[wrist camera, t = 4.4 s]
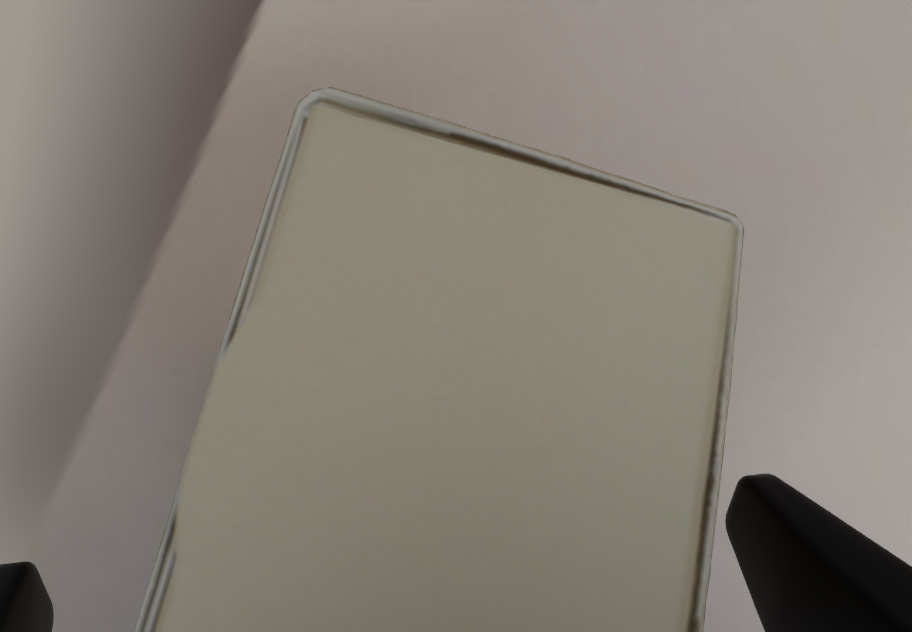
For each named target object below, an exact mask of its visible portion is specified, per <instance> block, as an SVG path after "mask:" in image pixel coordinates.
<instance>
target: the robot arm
mask: <svg viewBox="0 0 912 632" xmlns="http://www.w3.org/2000/svg"><path fill="white" fill-rule="evenodd" d="M725 522H726V530H727V533H728V536H729V539H730V542H731V544H732V547H733V549H734V552H735V555H736V557H737V560H738V563H739V565H740V568H741V570H742V573H743V576H744V578H745V581H746V584H747V586H748V589H749V591H750V594H751V597H752V599H753V602H754V605H755V607H756V610H757V613H758V615H759V618H760V620H761V623H762V625H763V628H764V630H765V632H912V567H911V566H910V565H908V564H907V563H905V562H904V561H902V560H901V559H899V558H898V557H896V556H895V555H893V554H892V553H890V552H889V551H887V550H886V549H884V548H883V547H881V546H880V545H878V544H877V543H875V542H874V541H872V540H871V539H869V538H868V537H866V536H865V535H863V534H862V533H860V532H859V531H857V530H856V529H854V528H853V527H851V526H850V525H848V524H847V523H845V522H844V521H842V520H841V519H839V518H838V517H836V516H835V515H833V514H832V513H830V512H829V511H827V510H826V509H824V508H823V507H821V506H820V505H818V504H817V503H815V502H814V501H812V500H811V499H809V498H808V497H806V496H805V495H803V494H802V493H800V492H799V491H797V490H796V489H794V488H793V487H791V486H790V485H788V484H787V483H785V482H784V481H782V480H781V479H779V478H778V477H776V476H774V475H771V474H758V475H749V476H744V477H742V478H741V479H740V480H739V482H738V484H737V486H736V489H735V492H734V494H733V497H732V500H731V503H730V505H729V508H728V511H727V514H726V521H725ZM52 627H53V606H52V602H51V600H50V597H49V595H48V593H47V591H46V588H45V586H44V584H43V582H42V579H41V577H40V575H39V572H38V570H37V568H36V567H35V565H34V564H32V563H31V562H18V563H10V564H1V565H0V632H52Z"/></svg>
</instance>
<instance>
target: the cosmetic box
mask: <svg viewBox="0 0 912 632" xmlns="http://www.w3.org/2000/svg"><path fill="white" fill-rule="evenodd" d="M743 237H744V228H743V224H742V221H741V220H740V219H739V218H738V217H737V216H736V215H734V214H732V213H730V212H728V211H725V210H722V209H718V208H715V207H712V206H708V205H705V204H702V203H698V202H695V201H692V200H688V199H685V198H681V197H678V196H675V195H672V194H669V193H666V192H664V191H661V190H659V189H656V188H653V187H650V186H647V185H644V184H641V183H639V182H636V181H633V180H630V179H626V178H623V177H620V176H616V175H613V174H610V173H607V172H604V171H601V170H598V169H595V168H592V167H589V166H587V165H584V164H580V163H577V162H574V161H572V160H569V159H567V158H564V157H561V156H557V155H553V154H549V153H546V152H543V151H541V150H538V149H534V148H530V147H526V146H523V145H519V144H516V143H513V142H510V141H507V140H504V139H500V138H497V137H494V136H491V135H488V134H485V133H482V132H479V131H476V130H473V129H469V128H466V127H463V126H460V125H457V124H454V123H451V122H448V121H445V120H441V119H438V118H434V117H431V116H427V115H424V114H420V113H417V112H414V111H410V110H407V109H403V108H400V107H397V106H393V105H390V104H387V103H384V102H380V101H377V100H374V99H370V98H367V97H364V96H360V95H357V94H354V93H350V92H347V91H343V90H339V89H336V88H332V87H328V88H322V89H317V90H313V91H312V92H311V93H309V94H308V95H307V96H306V97H304V98H303V99H302V100H300V101H299V103H298V105H297V107H296V108H295V110H294V114H293V117H292V121H291V125H290V128H289V131H288V134H287V138H286V141H285V144H284V147H283V150H282V153H281V156H280V159H279V162H278V165H277V168H276V171H275V175H274V178H273V181H272V184H271V187H270V190H269V193H268V196H267V199H266V202H265V205H264V208H263V212H262V215H261V218H260V221H259V225H258V228H257V231H256V234H255V237H254V241H253V244H252V247H251V250H250V253H249V257H248V260H247V263H246V266H245V269H244V272H243V275H242V278H241V281H240V285H239V288H238V291H237V294H236V297H235V301H234V304H233V308H232V311H231V315H230V319H229V322H228V326H227V328H226V331H225V334H224V337H223V340H222V343H221V346H220V349H219V352H218V354H217V357H216V361H215V364H214V367H213V370H212V374H211V377H210V380H209V384H208V387H207V390H206V394H205V397H204V400H203V404H202V407H201V410H200V413H199V417H198V420H197V423H196V427H195V430H194V433H193V437H192V440H191V443H190V447H189V450H188V453H187V457H186V460H185V463H184V467H183V470H182V473H181V477H180V480H179V483H178V487H177V490H176V494H175V497H174V501H173V504H172V507H171V511H170V514H169V518H168V521H167V524H166V528H165V531H164V535H163V538H162V541H161V545H160V548H159V551H158V555H157V558H156V561H155V565H154V568H153V571H152V575H151V578H150V581H149V585H148V588H147V591H146V594H145V597H144V601H143V604H142V607H141V610H140V613H139V616H138V620H137V623H136V626H135V630H134V632H703V627H704V619H705V606H706V598H707V591H708V585H709V578H710V569H711V558H712V551H713V542H714V533H715V524H716V515H717V506H718V498H719V489H720V480H721V471H722V461H723V452H724V443H725V431H726V420H727V413H728V405H729V395H730V386H731V375H732V361H733V346H734V336H735V329H736V320H737V303H738V289H739V278H740V267H741V257H742V246H743Z"/></svg>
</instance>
